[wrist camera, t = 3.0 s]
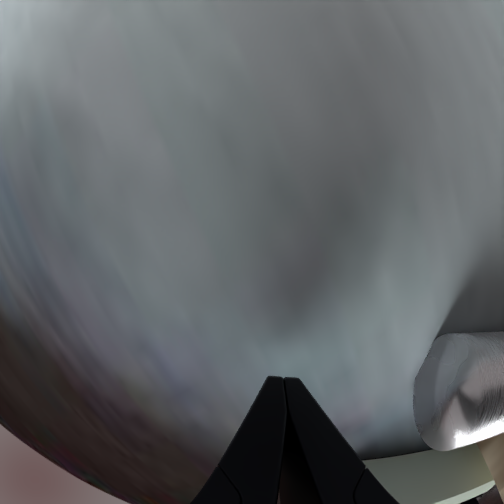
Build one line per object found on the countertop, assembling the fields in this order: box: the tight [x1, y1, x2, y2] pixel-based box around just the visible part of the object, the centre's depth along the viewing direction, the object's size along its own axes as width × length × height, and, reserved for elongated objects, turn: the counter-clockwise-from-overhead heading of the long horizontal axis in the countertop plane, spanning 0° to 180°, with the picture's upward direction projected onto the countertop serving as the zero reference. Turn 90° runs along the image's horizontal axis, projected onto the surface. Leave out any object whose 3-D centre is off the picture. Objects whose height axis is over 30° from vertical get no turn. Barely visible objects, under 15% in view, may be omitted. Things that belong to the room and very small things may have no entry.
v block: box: [363, 443, 495, 504], centre depth 11 cm, size 7×10×4 cm
